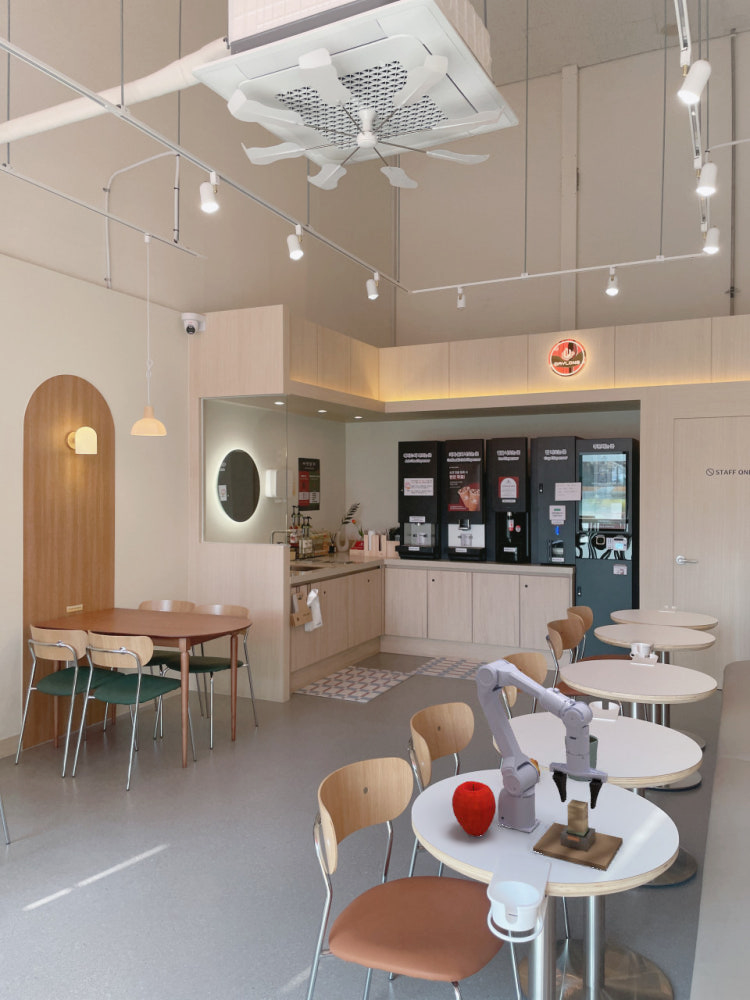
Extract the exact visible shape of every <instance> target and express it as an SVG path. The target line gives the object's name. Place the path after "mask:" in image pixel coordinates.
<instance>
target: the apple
mask: <svg viewBox="0 0 750 1000" xmlns="http://www.w3.org/2000/svg"><path fill="white" fill-rule="evenodd" d="M451 805H452V806H451V807H452V811H453V814H454V816H455V819H456V821H457V822H458V824H459V826H460V827H461V828H462V830H463V831H464V832H465V833H466V834H467V835H469V836H471V835H473V837H478V836H479V837H481V836H480V835H482V836H484V835H485V834H486V833H487V832H488V831H489V828H490V826H491V825H492V823H493V822H494V821H493V820H494V817H495V815H496V811H497V805H496V797H495V796H494V792H493V790H492V789H491V788H490V787H489V785H487V784H485V783H483V782H479V781H473V780H470V781H469V780H468V781H465V782H462V783H460V784H459V785H457V787H456V788H455V789H454V791H453V795H452V798H451Z"/></svg>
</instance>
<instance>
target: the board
mask: <svg viewBox="0 0 750 1000" xmlns="http://www.w3.org/2000/svg"><path fill="white" fill-rule="evenodd" d="M567 825H568V824H562V823H559V822H553V823H552V824H551V825H550V827H549V828H548V829H547V830H546V832H544V834H543V835H542V836H541V837H540V838H539V840H538V841H537V842H536V844H534V845H533V847H532V852H533V851H536V852H539V853H542V854H544V855H543V856H545V855H546V857H550V858H554V859H557V860H561V861H565V862H569V863H573V864H577V865H581V866H583V867H584V866H585V867H588V866H589V868H592V867H594V868H593V869H596V868H598V869H597V870H600V869H601V871H603V870H605V871H604V872H606V871H607V870H606V869H608V868H609V867H610V864H611V863H612V861H613V859H614V858H615V857H616V855H617V853H618V852H619V850H620V848H621V846H622V845H623V842H624V840H623V839H624V838H623V837H619V836H615V835H610V834H607V833H606V834H605V833H601V832H598V831H595V837H596V841H595V842H594V844H593V845H592V846H591V848H590V849H589V851H588V852H586V851H582V850H578V849H574V848H570V847H565V846H561V832H562V831H563V830H564V829H565V827H566V826H567ZM617 851H618V852H617Z"/></svg>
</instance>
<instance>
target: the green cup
mask: <svg viewBox="0 0 750 1000" xmlns="http://www.w3.org/2000/svg"><path fill="white" fill-rule="evenodd" d="M564 745H565V746H566V735H565V736H564ZM598 746H599V739H598V737H597V736H594V735H592V734H589V758H590V768H593V769H596V770H597V761H598ZM567 777H568V778H569V779H571V780H574V781H576V782H588V781H587V780H592V779H588V778H583V777H578V776H574V775H569V774H567Z"/></svg>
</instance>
